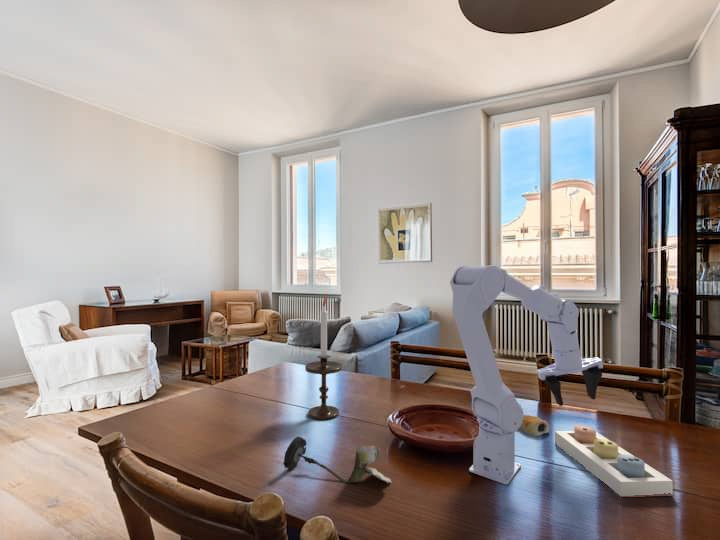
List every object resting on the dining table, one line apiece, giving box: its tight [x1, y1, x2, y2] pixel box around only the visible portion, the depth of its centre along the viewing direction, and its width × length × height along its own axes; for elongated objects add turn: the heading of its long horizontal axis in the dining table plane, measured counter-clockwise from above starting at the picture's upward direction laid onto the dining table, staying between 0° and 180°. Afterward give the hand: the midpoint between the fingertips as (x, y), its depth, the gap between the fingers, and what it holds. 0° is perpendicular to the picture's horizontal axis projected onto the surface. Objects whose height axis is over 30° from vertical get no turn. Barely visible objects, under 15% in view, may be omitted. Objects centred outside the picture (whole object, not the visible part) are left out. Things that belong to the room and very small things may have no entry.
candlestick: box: [305, 296, 343, 421], centre depth 110 cm, size 11×11×35 cm
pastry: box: [518, 414, 550, 437], centre depth 100 cm, size 9×7×4 cm
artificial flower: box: [282, 436, 392, 484], centre depth 77 cm, size 9×22×10 cm, turn 66°
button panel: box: [554, 430, 674, 496], centre depth 80 cm, size 22×10×3 cm, turn 2°
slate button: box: [617, 454, 645, 478], centre depth 73 cm, size 4×4×3 cm
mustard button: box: [594, 439, 619, 459], centre depth 80 cm, size 4×4×3 cm
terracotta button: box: [573, 425, 597, 444], centre depth 87 cm, size 4×4×3 cm
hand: (575, 400), depth 89 cm, fingers open, 7 cm apart
